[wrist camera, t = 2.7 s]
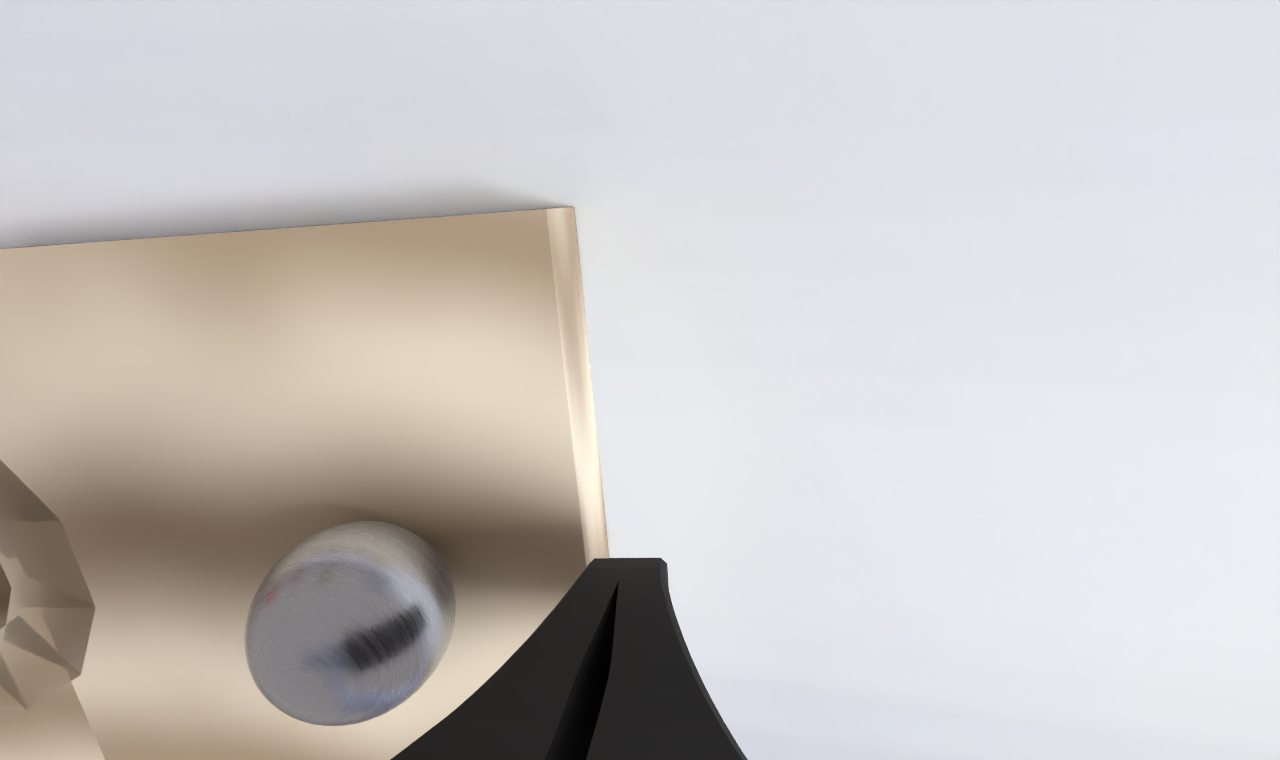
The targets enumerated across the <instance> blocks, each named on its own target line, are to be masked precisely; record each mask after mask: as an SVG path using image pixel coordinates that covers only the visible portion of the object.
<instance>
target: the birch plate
mask: <svg viewBox="0 0 1280 760" xmlns="http://www.w3.org/2000/svg"><path fill="white" fill-rule="evenodd" d="M355 521H379V522H386V523H391V524H395V525H398V526H401V527H403V528H406V529H408V530H410V531H412V532H414V533H416V534H417V535H419V536H420V537H422V538H423V539H424V540H425V541H427V542H428V543H429V544H430V545H431V546H432V547H433V548H434V549H435V550H436V551H437V552H438V554H439V555H440V556H441V558H442V559H443V561H444V563H445V565H446V566H447V569H448V571H449V574H450V576H451V578H452V582H453V586H454V592H455V600H456V613H455V623H454V628H453V632H452V636H451V639H450V642H449V645H448V647H447V650H446V652H445V654H444V656H443V658H442V660H441V661H440V663H439V665H438V666H437V668H436V669H435V671H434V673H433V674H432V675H431V676H430V678H429V679H428V680H427V681H426V682H425V683H424V685H423V686H422V687H421V688H420V689H419V690H418V691H417V692H416V693H414V694H413V695H412V696H411V697H410V698H408V699H407V700H406V701H405V702H404V703H402V704H400V705H399V706H397V707H396V708H394V709H392V710H391V711H389V712H387V713H385V714H383V715H381V716H378V717H376V718H373V719H371V720H368V721H365V722H361V723H357V724H351V725H345V726H321V725H314V724H309V723H305V722H302V721H299V720H297V719H294V718H292V717H290V716H288V715H287V714H285V713H283V712H282V711H280V710H279V709H277V708H276V707H275V706H273V705H272V704H271V703H270V702H269V701H268V700H267V699H266V698H265V697H264V695H263V694H262V693H261V692H260V690H259V689H258V687H257V686H256V684H255V682H254V680H253V678H252V675H251V673H250V670H249V668H248V664H247V660H246V654H245V645H244V638H245V626H246V620H247V616H248V612H249V609H250V605H251V603H252V600H253V598H254V596H255V594H256V592H257V590H258V588H259V586H260V584H261V582H262V581H263V579H264V578H265V576H266V575H267V574H268V572H269V571H270V569H271V568H272V567H273V566H274V565H275V564H276V563H277V562H278V561H279V560H280V559H281V558H282V557H283V555H284V554H285V553H287V552H288V551H289V550H291V549H292V548H293V547H294V546H296V545H297V544H298V543H300V542H301V541H302V540H304V539H306V538H308V537H310V536H312V535H313V534H315V533H317V532H319V531H321V530H324V529H327V528H330V527H333V526H336V525H339V524H343V523H348V522H355ZM594 558H609V552H608V542H607V532H606V522H605V512H604V501H603V491H602V481H601V471H600V461H599V451H598V441H597V431H596V421H595V410H594V400H593V390H592V380H591V370H590V360H589V350H588V340H587V330H586V320H585V309H584V299H583V289H582V279H581V269H580V259H579V249H578V239H577V229H576V218H575V208H574V207H563V208H549V209H536V210H522V211H508V212H495V213H481V214H468V215H454V216H440V217H427V218H413V219H400V220H386V221H373V222H359V223H345V224H332V225H318V226H305V227H291V228H277V229H264V230H250V231H237V232H223V233H209V234H196V235H182V236H169V237H155V238H142V239H128V240H114V241H101V242H87V243H74V244H60V245H46V246H33V247H19V248H6V249H0V760H390V759H392V758H393V757H394V756H396V755H397V754H398V753H400V752H401V751H402V750H404V749H405V748H406V747H408V746H409V745H410V744H411V743H413V742H414V741H415V740H417V739H418V738H419V737H421V736H422V735H423V734H425V733H426V732H427V731H428V730H430V729H431V728H432V727H434V726H435V725H436V724H438V723H439V722H440V721H442V720H443V719H444V718H445V717H447V716H448V715H449V714H450V713H451V712H453V711H454V710H455V709H456V708H457V707H458V706H460V705H461V704H462V703H463V702H464V701H465V700H466V699H468V698H469V697H470V696H471V695H472V694H473V693H474V692H475V691H476V690H478V689H479V688H480V687H481V686H482V685H483V684H484V683H485V682H486V681H487V680H488V679H489V678H490V677H491V676H492V675H493V674H494V673H495V672H496V671H497V670H498V669H499V668H500V667H501V666H502V665H503V664H504V663H505V662H506V661H507V660H508V659H509V658H510V657H511V656H512V655H513V654H514V653H515V652H516V651H517V650H518V648H519V647H520V646H521V645H522V644H523V643H524V642H525V641H526V640H527V639H528V638H529V637H530V636H531V635H532V633H533V632H534V631H535V630H536V629H537V628H538V627H539V625H540V624H541V623H542V622H543V621H544V619H545V618H546V617H547V616H548V615H549V614H550V612H551V611H552V610H553V609H554V608H555V607H556V605H557V604H558V603H559V602H560V600H561V599H562V598H563V597H564V595H565V594H566V593H567V592H568V590H569V589H570V588H571V587H572V585H573V584H574V583H575V581H576V580H577V579H578V577H579V576H580V575H581V574H582V572H583V571H584V570H585V568H586V567H587V566H588V564H589V563H590V562H591V561H592V560H593V559H594Z"/></svg>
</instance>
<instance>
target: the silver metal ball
mask: <svg viewBox="0 0 1280 760" xmlns="http://www.w3.org/2000/svg"><path fill="white" fill-rule="evenodd" d="M455 613H456V600H455V592H454V586H453V582H452V578H451V576H450V574H449V571H448V569H447V566H446V565H445V563H444V561H443V559H442V558H441V556H440V555H439V554H438V552H437V551H436V550H435V549H434V548H433V547H432V546H431V545H430V544H429V543H428V542H427V541H425V540H424V539H423V538H422V537H420V536H419V535H417V534H416V533H414V532H412V531H410V530H408V529H406V528H403V527H401V526H398V525H395V524H391V523H386V522H379V521H355V522H348V523H343V524H339V525H336V526H333V527H330V528H327V529H324V530H321V531H319V532H317V533H315V534H313V535H312V536H310V537H308V538H306V539H304V540H302V541H301V542H300V543H298V544H297V545H296V546H294V547H293V548H292V549H291V550H289V551H288V552H287V553H285V554H284V555H283V557H282V558H281V559H280V560H279V561H278V562H277V563H276V564H275V565H274V566H273V567H272V568H271V569H270V571H269V572H268V574H267V575H266V576H265V578H264V579H263V581H262V582H261V584H260V586H259V588H258V590H257V592H256V594H255V596H254V598H253V600H252V603H251V605H250V609H249V612H248V616H247V620H246V626H245V638H244V645H245V654H246V660H247V664H248V668H249V670H250V673H251V675H252V678H253V680H254V682H255V684H256V686H257V687H258V689H259V690H260V692H261V693H262V694H263V695H264V697H265V698H266V699H267V700H268V701H269V702H270V703H271V704H272V705H273V706H275V707H276V708H277V709H279V710H280V711H282V712H283V713H285V714H287V715H288V716H290V717H292V718H294V719H297V720H299V721H302V722H305V723H309V724H314V725H321V726H345V725H351V724H357V723H361V722H365V721H368V720H371V719H373V718H376V717H378V716H381V715H383V714H385V713H387V712H389V711H391V710H392V709H394V708H396V707H397V706H399V705H400V704H402V703H404V702H405V701H406V700H407V699H408V698H410V697H411V696H412V695H413V694H414V693H416V692H417V691H418V690H419V689H420V688H421V687H422V686H423V685H424V683H425V682H426V681H427V680H428V679H429V678H430V676H431V675H432V674H433V673H434V671H435V669H436V668H437V666H438V665H439V663H440V661H441V660H442V658H443V656H444V654H445V652H446V650H447V647H448V645H449V642H450V639H451V636H452V632H453V628H454V623H455Z"/></svg>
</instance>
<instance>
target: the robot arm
mask: <svg viewBox="0 0 1280 760" xmlns="http://www.w3.org/2000/svg"><path fill="white" fill-rule="evenodd" d="M390 760H747V758H746V757H745V755H744V754H743V752H742V751H741V749H740V748H739V746H738V744H737V743H736V741H735V739H734V738H733V736H732V734H731V733H730V731H729V729H728V728H727V726H726V724H725V723H724V721H723V719H722V717H721V716H720V714H719V712H718V710H717V708H716V707H715V705H714V703H713V701H712V699H711V697H710V696H709V694H708V692H707V690H706V688H705V686H704V684H703V682H702V680H701V677H700V675H699V673H698V671H697V669H696V667H695V664H694V662H693V660H692V658H691V655H690V653H689V651H688V648H687V646H686V643H685V641H684V638H683V635H682V632H681V630H680V627H679V624H678V621H677V618H676V616H675V612H674V609H673V606H672V602H671V598H670V594H669V588H668V572H667V563H666V562H665V561H663V560H662V559H661V558H594V559H593V560H592V561H591V562H590V563H589V564H588V566H587V567H586V568H585V570H584V571H583V572H582V574H581V575H580V576H579V577H578V579H577V580H576V581H575V583H574V584H573V585H572V587H571V588H570V589H569V590H568V592H567V593H566V594H565V595H564V597H563V598H562V599H561V600H560V602H559V603H558V604H557V605H556V607H555V608H554V609H553V610H552V611H551V612H550V614H549V615H548V616H547V617H546V618H545V619H544V621H543V622H542V623H541V624H540V625H539V627H538V628H537V629H536V630H535V631H534V632H533V633H532V635H531V636H530V637H529V638H528V639H527V640H526V641H525V642H524V643H523V644H522V645H521V646H520V647H519V648H518V650H517V651H516V652H515V653H514V654H513V655H512V656H511V657H510V658H509V659H508V660H507V661H506V662H505V663H504V664H503V665H502V666H501V667H500V668H499V669H498V670H497V671H496V672H495V673H494V674H493V675H492V676H491V677H490V678H489V679H488V680H487V681H486V682H485V683H484V684H483V685H482V686H481V687H480V688H479V689H478V690H476V691H475V692H474V693H473V694H472V695H471V696H470V697H469V698H468V699H466V700H465V701H464V702H463V703H462V704H461V705H460V706H458V707H457V708H456V709H455V710H454V711H453V712H451V713H450V714H449V715H448V716H447V717H445V718H444V719H443V720H442V721H440V722H439V723H438V724H436V725H435V726H434V727H432V728H431V729H430V730H428V731H427V732H426V733H425V734H423V735H422V736H421V737H419V738H418V739H417V740H415V741H414V742H413V743H411V744H410V745H409V746H408V747H406V748H405V749H404V750H402V751H401V752H400V753H398V754H397V755H396V756H394V757H393V758H392V759H390Z"/></svg>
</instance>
